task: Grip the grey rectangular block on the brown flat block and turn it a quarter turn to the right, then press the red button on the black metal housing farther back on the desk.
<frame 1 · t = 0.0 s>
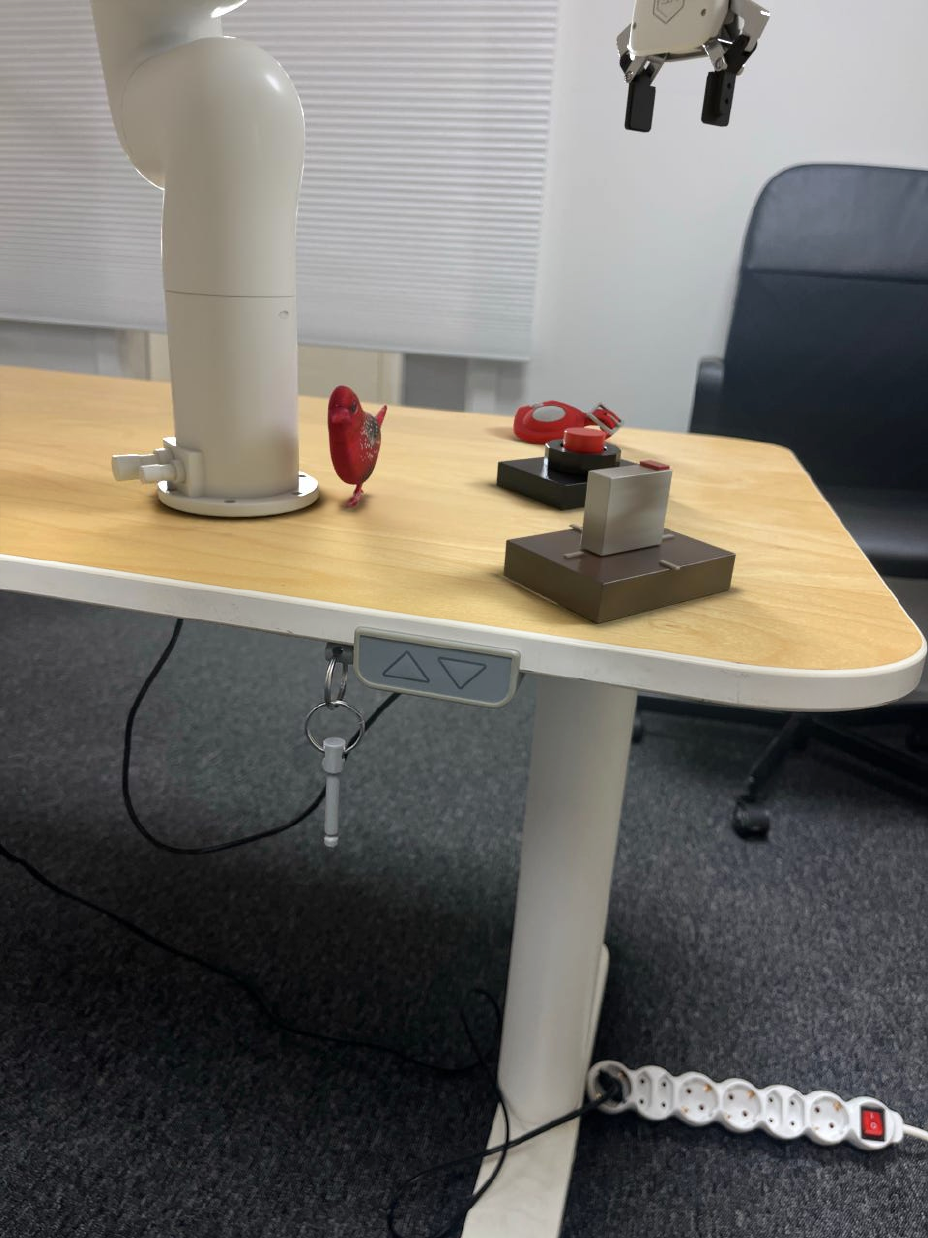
hand: (674, 127, 85), 31 cm above the table, tool pointing down, fingers open, 9 cm apart
button box: (578, 490, 80), on the table
decorative bird figurine: (361, 499, 74), on the table
button: (584, 441, 79), point 4 cm above the table, slide at 0.1 cm
grey rectangular block: (626, 506, 57), point 5 cm above the table, hinge at 0.0°
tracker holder: (562, 441, 101), on the table
brown flat block: (616, 582, 59), on the table
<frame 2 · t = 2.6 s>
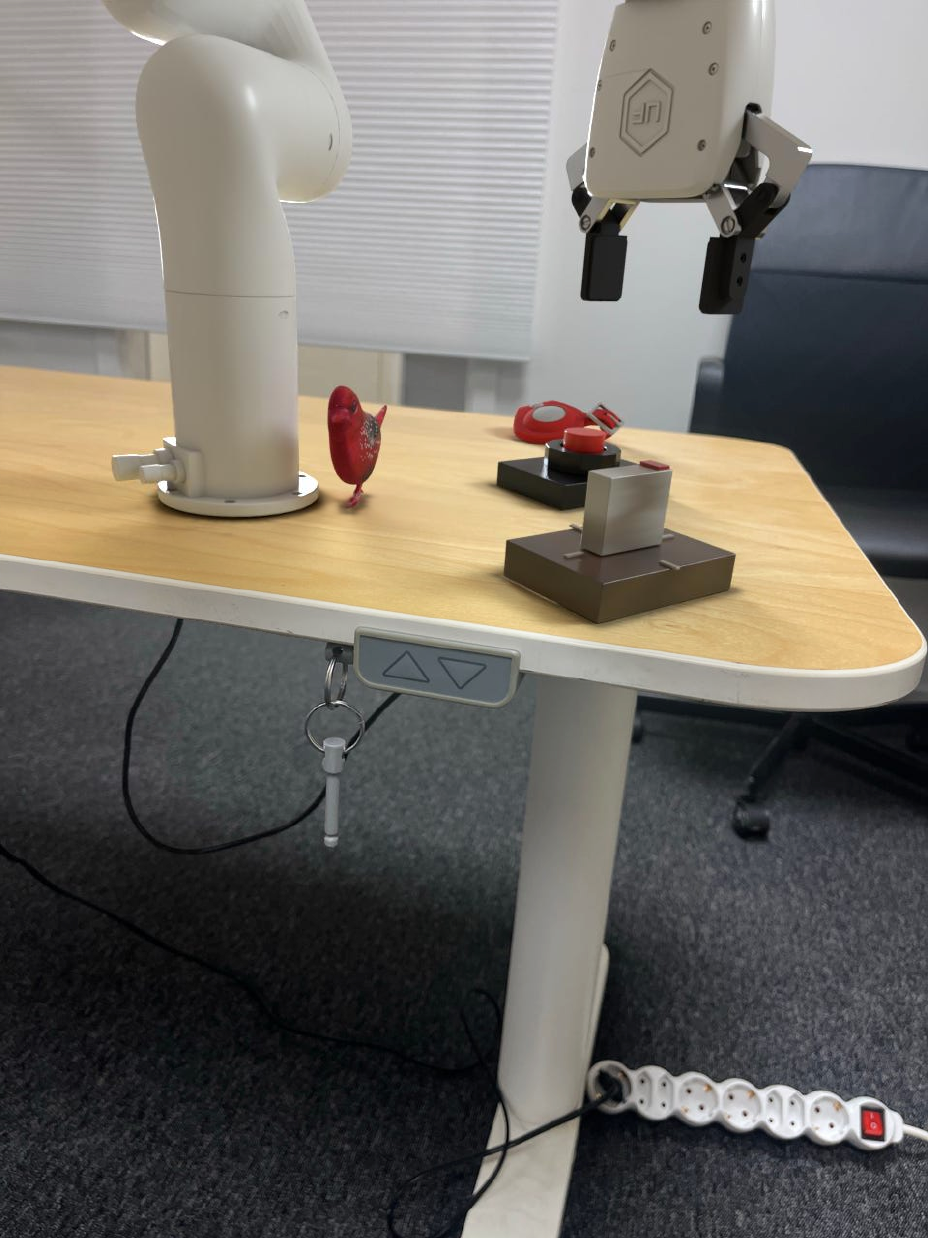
hand: (656, 306, 54), 17 cm above the table, tool pointing down, fingers open, 9 cm apart
nothing on the table moved.
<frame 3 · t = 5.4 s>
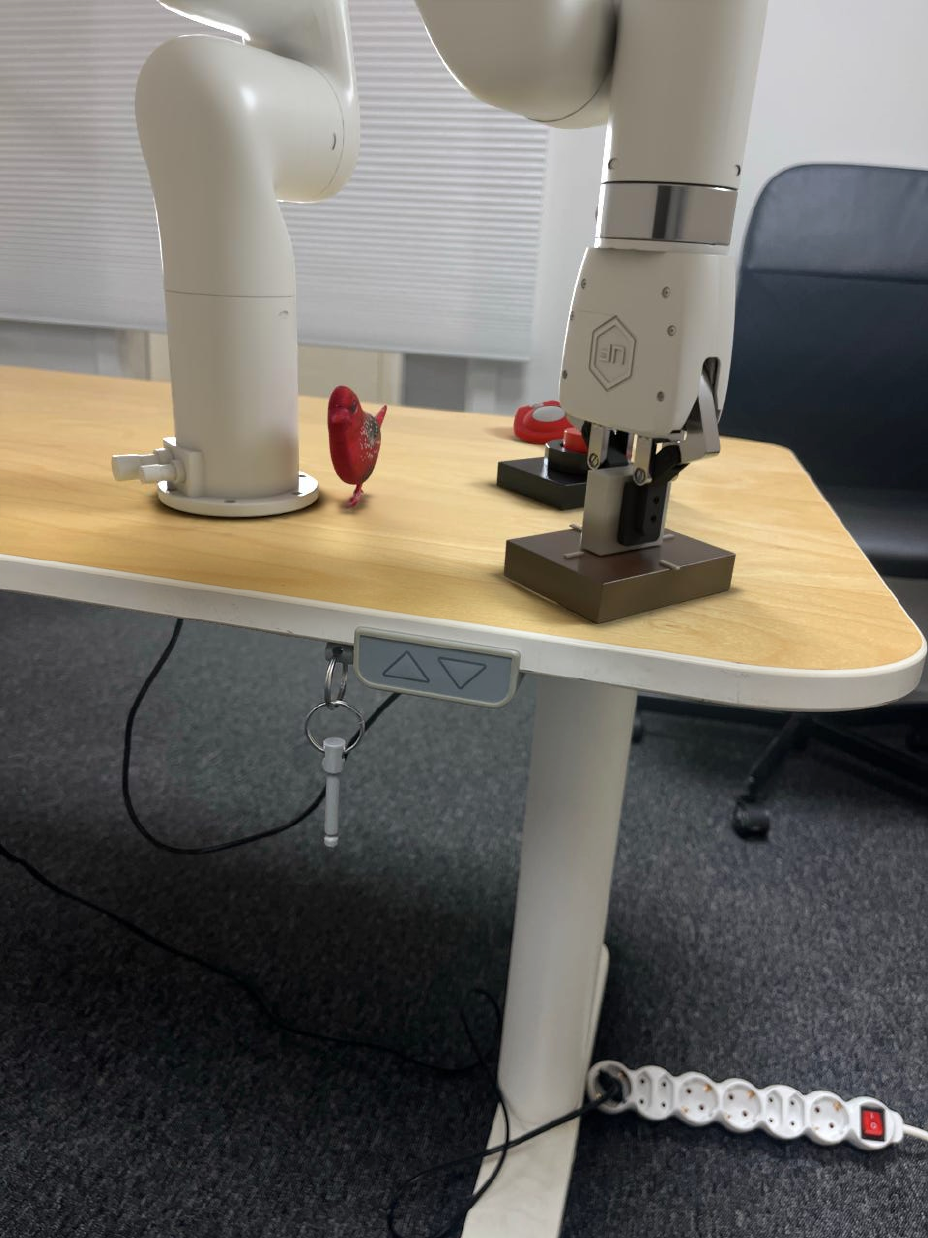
hand: (623, 534, 57), 3 cm above the table, tool pointing down, fingers closed on grey rectangular block, 2 cm apart
grey rectangular block: (626, 506, 57), point 5 cm above the table, hinge at -1.7°, touching gripper
everything else where it was.
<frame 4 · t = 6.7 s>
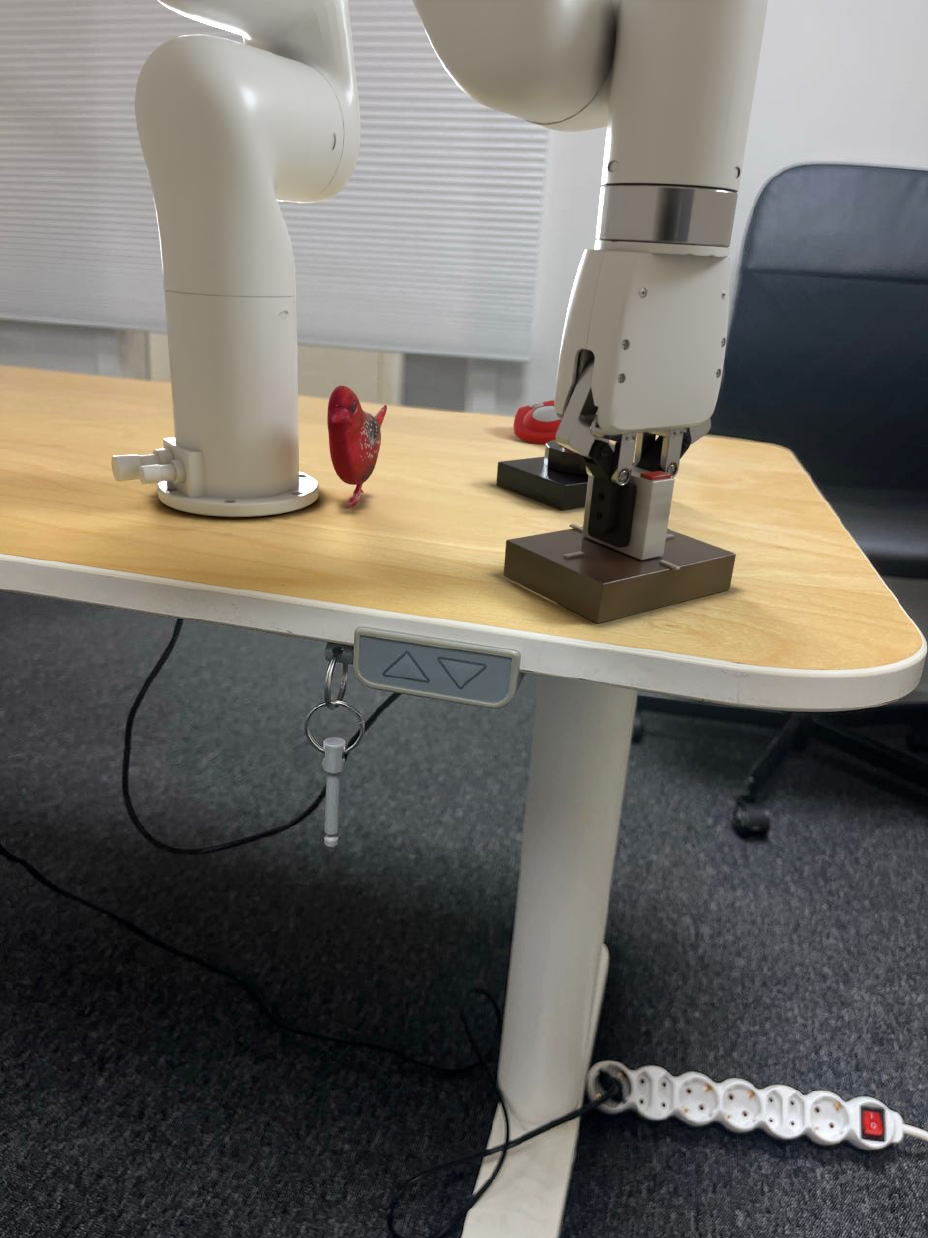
hand: (623, 535, 57), 3 cm above the table, tool pointing down, fingers closed
grey rectangular block: (626, 506, 57), point 5 cm above the table, hinge at -90.0°
everything else where it was.
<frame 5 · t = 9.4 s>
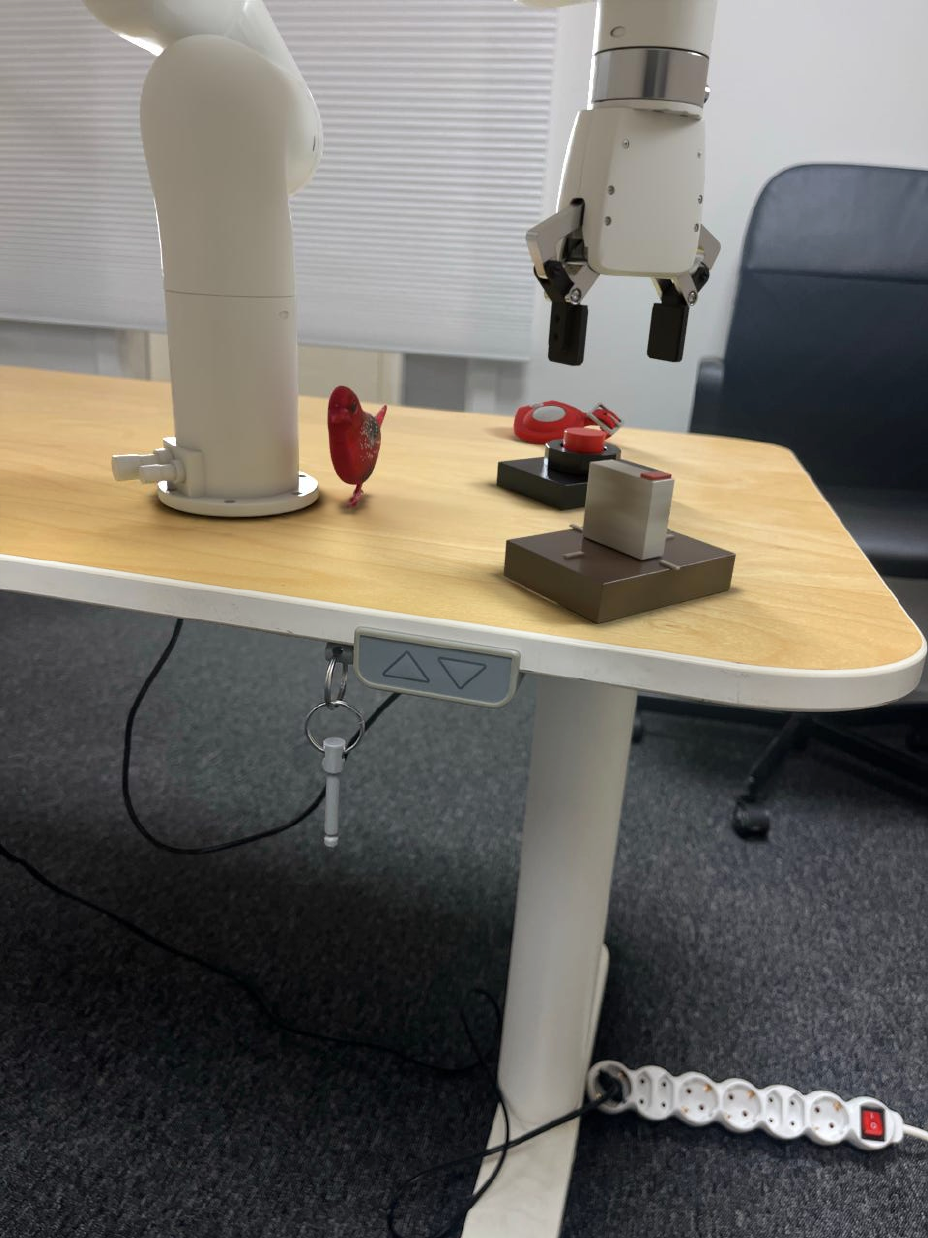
hand: (616, 361, 65), 13 cm above the table, tool pointing down, fingers open, 9 cm apart
nothing on the table moved.
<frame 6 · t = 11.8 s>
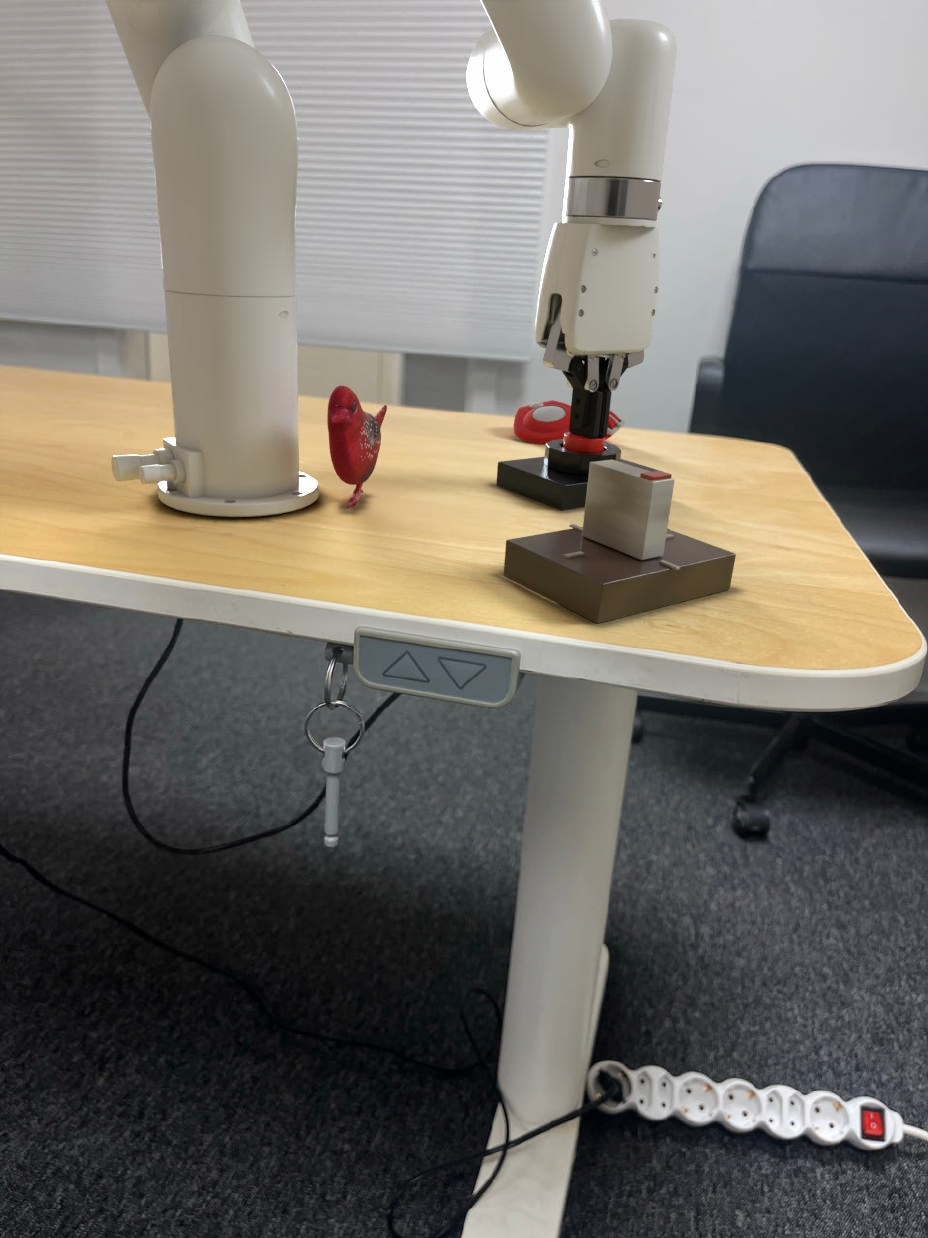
hand: (587, 434, 78), 5 cm above the table, tool pointing down, fingers closed
button: (583, 445, 79), point 4 cm above the table, slide at -0.3 cm, touching gripper
everything else where it was.
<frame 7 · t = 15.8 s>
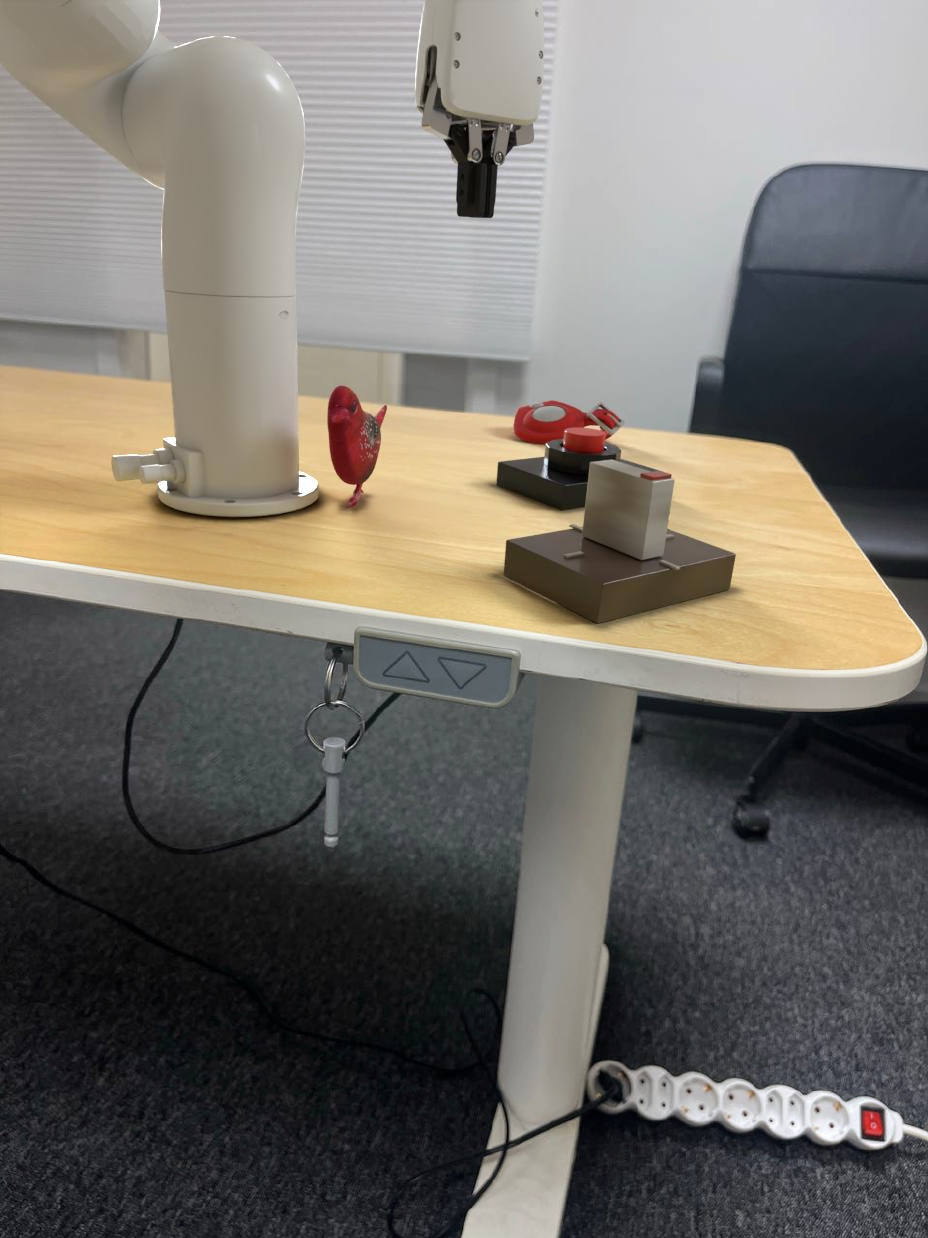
hand: (474, 216, 76), 22 cm above the table, tool pointing down, fingers closed
button: (584, 441, 79), point 4 cm above the table, slide at 0.1 cm
everything else where it was.
at the end: grey rectangular block at -90° (first picture: +0°); button pushed in 1.1 cm at the most during the clip, back to where it started at the end; button slide at 0.1 cm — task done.
